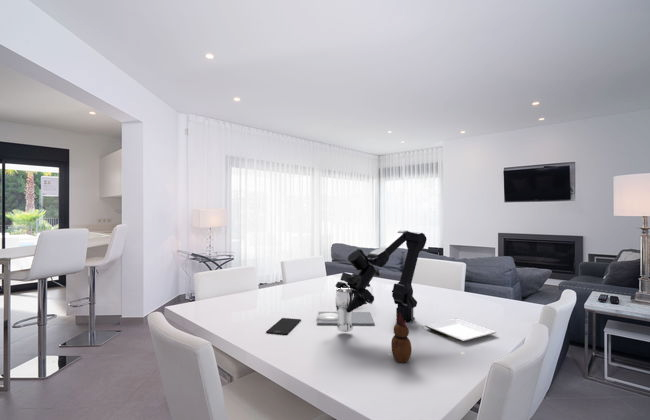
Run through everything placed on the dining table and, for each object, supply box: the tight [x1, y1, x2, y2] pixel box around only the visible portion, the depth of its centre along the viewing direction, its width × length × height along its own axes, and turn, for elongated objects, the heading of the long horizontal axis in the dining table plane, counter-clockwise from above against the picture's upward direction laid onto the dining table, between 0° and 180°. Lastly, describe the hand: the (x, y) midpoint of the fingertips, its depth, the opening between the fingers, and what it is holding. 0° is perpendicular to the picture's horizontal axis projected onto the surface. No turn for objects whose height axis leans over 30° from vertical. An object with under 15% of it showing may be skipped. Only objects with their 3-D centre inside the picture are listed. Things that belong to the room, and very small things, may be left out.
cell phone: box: [265, 317, 302, 336], centre depth 132 cm, size 9×18×1 cm, turn 166°
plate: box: [424, 318, 497, 343], centre depth 125 cm, size 19×19×2 cm
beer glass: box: [335, 288, 354, 333], centre depth 124 cm, size 7×7×15 cm
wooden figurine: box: [390, 311, 413, 364], centre depth 101 cm, size 7×6×15 cm
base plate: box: [316, 311, 376, 326], centre depth 142 cm, size 24×16×1 cm, turn 89°
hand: (341, 309), depth 123 cm, fingers closed on beer glass, 7 cm apart
